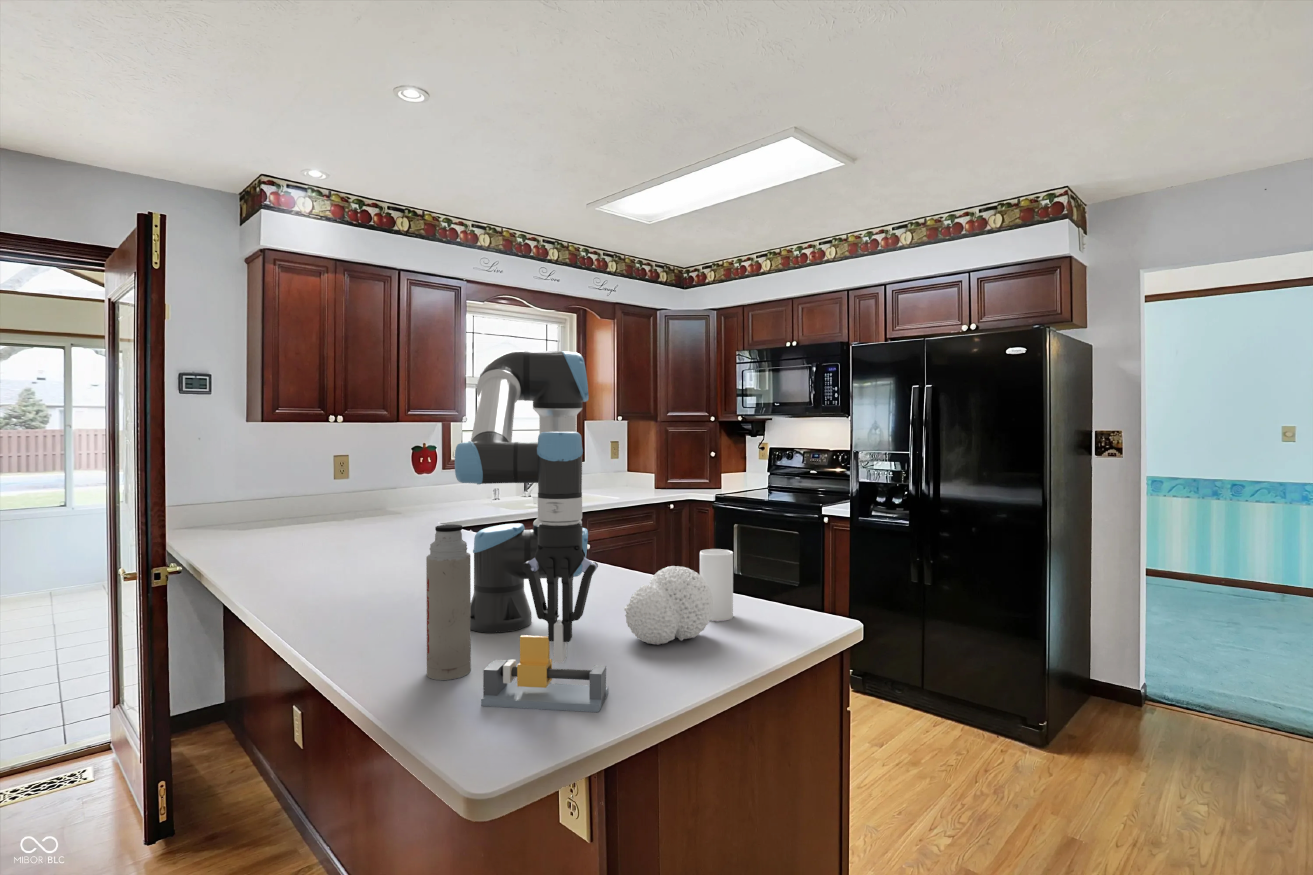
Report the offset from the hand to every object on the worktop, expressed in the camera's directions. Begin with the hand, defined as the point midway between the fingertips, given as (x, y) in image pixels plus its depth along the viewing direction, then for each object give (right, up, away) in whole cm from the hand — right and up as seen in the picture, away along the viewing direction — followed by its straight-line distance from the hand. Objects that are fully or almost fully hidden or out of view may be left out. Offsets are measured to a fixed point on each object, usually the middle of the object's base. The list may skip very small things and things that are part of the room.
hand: (560, 659), depth 114 cm
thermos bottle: (-23, -7, +13) cm, 27 cm away
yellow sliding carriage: (-4, -4, +1) cm, 6 cm away
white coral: (+20, -7, +33) cm, 39 cm away
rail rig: (-2, -7, 0) cm, 7 cm away
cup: (+31, -7, +51) cm, 61 cm away
